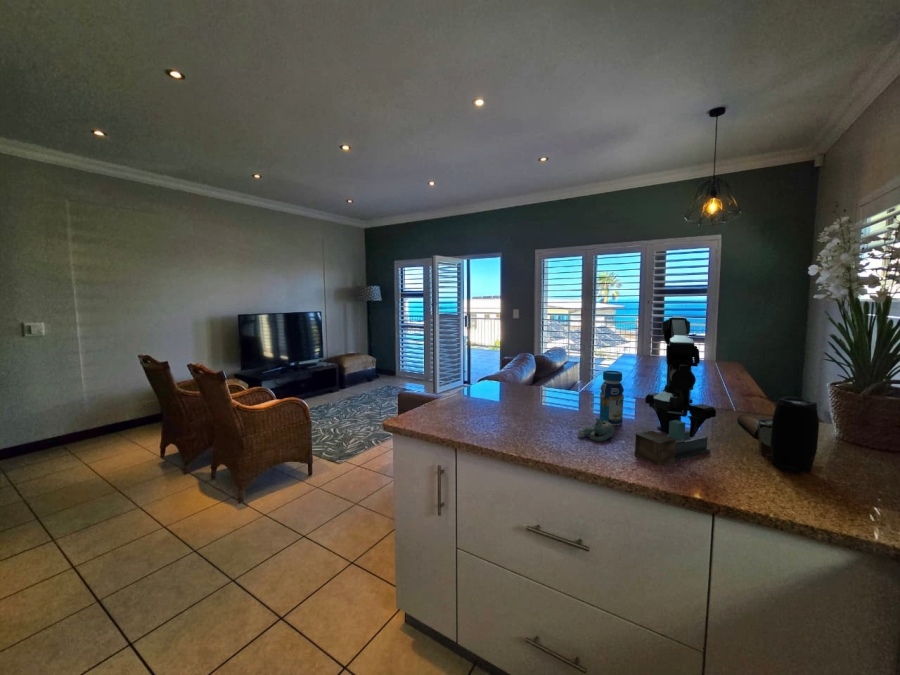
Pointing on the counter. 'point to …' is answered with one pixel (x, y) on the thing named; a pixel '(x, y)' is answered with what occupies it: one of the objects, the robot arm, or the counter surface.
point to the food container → (764, 435)
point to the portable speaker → (794, 434)
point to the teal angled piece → (677, 430)
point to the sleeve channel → (690, 447)
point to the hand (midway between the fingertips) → (676, 432)
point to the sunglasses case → (749, 424)
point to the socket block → (655, 447)
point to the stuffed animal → (599, 430)
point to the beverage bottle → (612, 398)
